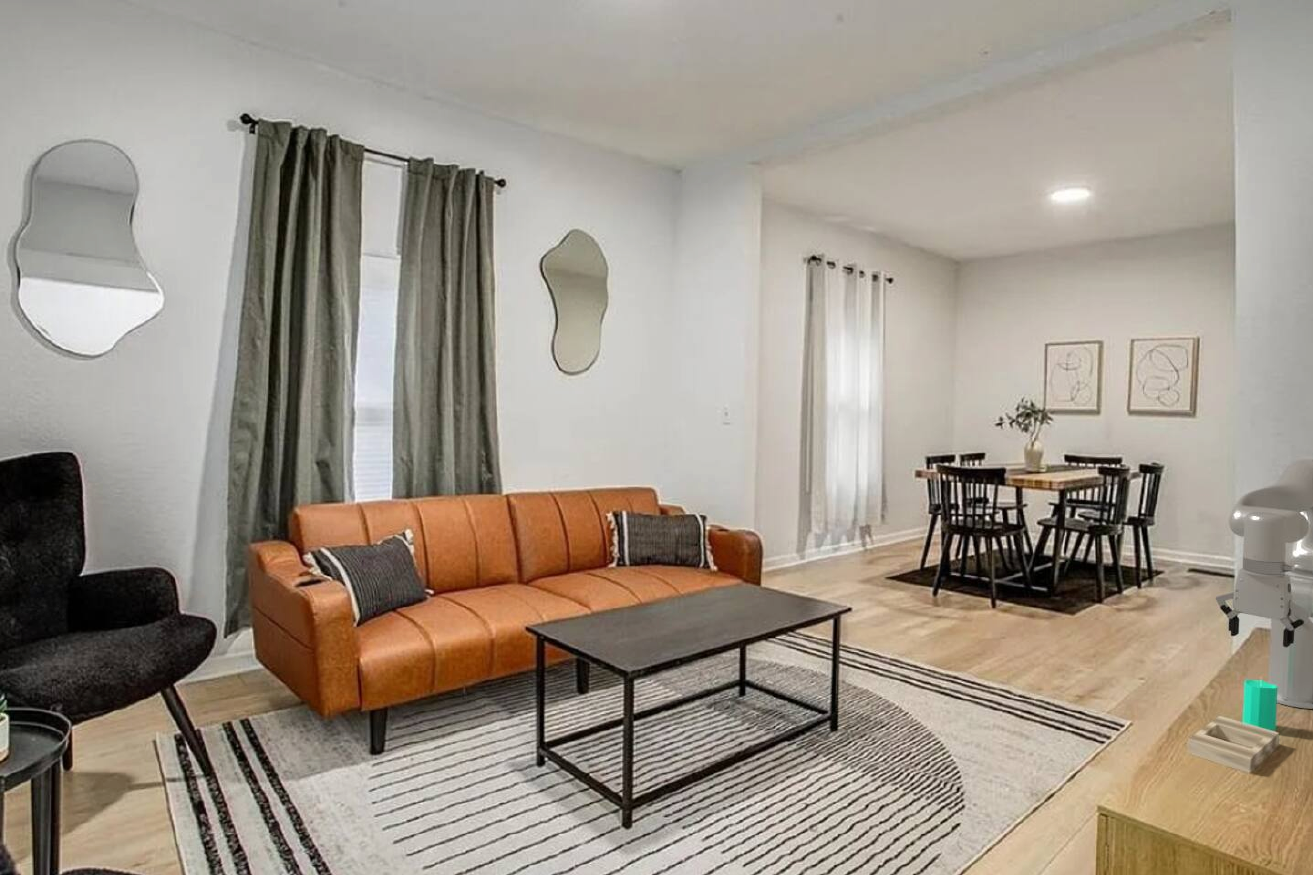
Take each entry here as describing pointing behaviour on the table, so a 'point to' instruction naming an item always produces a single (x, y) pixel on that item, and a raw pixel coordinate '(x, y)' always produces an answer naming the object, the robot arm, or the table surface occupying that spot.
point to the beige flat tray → (1231, 753)
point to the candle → (1260, 704)
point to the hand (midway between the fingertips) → (1260, 640)
